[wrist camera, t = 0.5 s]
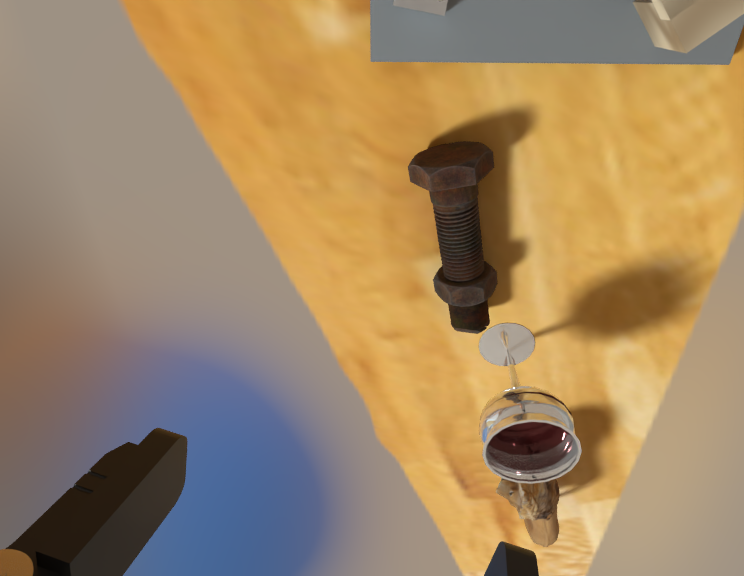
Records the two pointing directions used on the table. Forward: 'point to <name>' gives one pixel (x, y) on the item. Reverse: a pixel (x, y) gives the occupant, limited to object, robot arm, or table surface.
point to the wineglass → (524, 417)
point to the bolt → (458, 228)
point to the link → (424, 5)
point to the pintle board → (532, 34)
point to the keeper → (686, 20)
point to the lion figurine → (535, 507)
